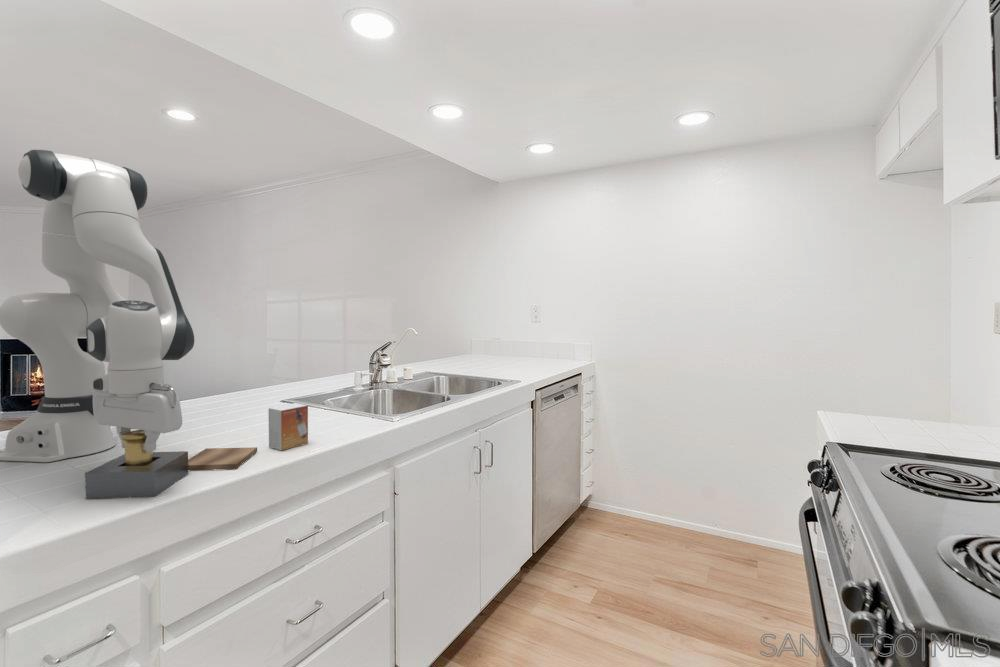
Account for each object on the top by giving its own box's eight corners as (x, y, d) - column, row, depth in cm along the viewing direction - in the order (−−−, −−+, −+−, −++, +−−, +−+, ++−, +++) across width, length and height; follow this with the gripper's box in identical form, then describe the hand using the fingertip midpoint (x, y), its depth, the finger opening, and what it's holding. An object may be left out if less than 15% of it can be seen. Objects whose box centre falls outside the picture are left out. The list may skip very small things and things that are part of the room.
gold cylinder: (116, 484, 92) (115, 435, 91) (143, 475, 97) (142, 428, 96) (135, 487, 90) (133, 437, 89) (161, 478, 95) (160, 430, 94)
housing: (85, 499, 87) (84, 473, 86) (128, 475, 99) (127, 452, 98) (154, 496, 88) (154, 471, 88) (188, 473, 100) (187, 451, 100)
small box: (281, 451, 116) (280, 410, 115) (268, 447, 119) (267, 407, 118) (308, 443, 123) (308, 405, 122) (296, 440, 126) (295, 402, 125)
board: (178, 470, 102) (178, 465, 102) (206, 453, 114) (205, 448, 114) (236, 469, 103) (236, 464, 103) (257, 452, 115) (257, 447, 115)
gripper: (190, 382, 92) (192, 450, 93) (118, 376, 98) (120, 439, 99) (158, 388, 86) (160, 460, 87) (84, 380, 92) (87, 448, 93)
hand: (138, 449), depth 93 cm, fingers closed on gold cylinder, 4 cm apart
